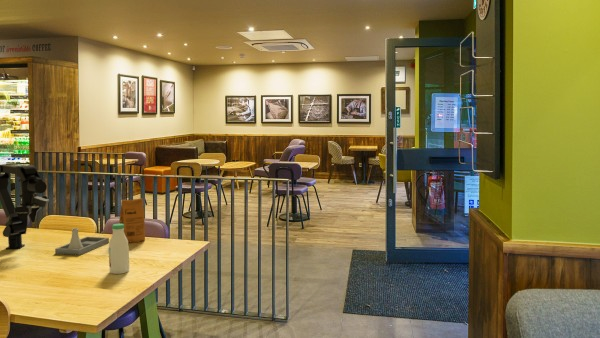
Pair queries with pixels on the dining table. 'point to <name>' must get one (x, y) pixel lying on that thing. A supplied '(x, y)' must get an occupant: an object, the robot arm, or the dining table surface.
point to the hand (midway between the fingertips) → (29, 224)
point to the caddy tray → (87, 243)
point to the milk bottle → (118, 250)
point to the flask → (75, 240)
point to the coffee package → (133, 220)
